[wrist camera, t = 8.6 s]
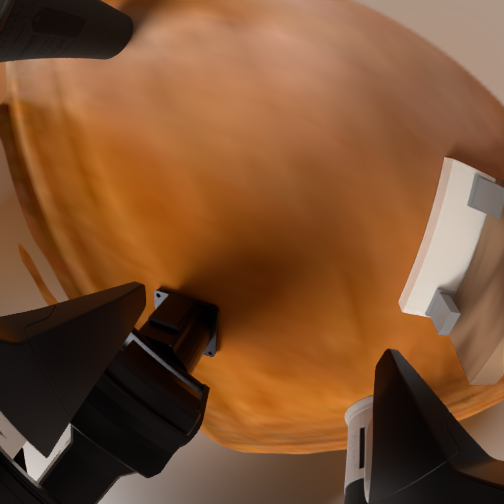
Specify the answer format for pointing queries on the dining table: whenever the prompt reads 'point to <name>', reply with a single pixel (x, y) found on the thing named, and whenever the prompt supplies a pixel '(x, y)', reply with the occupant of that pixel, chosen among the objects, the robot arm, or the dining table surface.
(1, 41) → the drinking cup
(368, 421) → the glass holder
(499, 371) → the door
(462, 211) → the side panel
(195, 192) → the dining table surface
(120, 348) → the robot arm
